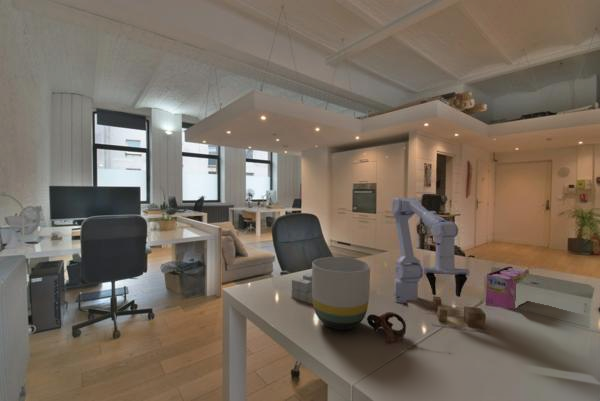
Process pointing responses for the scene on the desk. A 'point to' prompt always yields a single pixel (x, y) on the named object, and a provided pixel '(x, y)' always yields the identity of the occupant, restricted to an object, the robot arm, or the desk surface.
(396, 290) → the robot arm
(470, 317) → the walnut block
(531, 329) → the desk surface
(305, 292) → the puzzle cube
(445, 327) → the tray board
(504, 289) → the gum box
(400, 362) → the desk surface
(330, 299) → the planter
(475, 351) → the desk surface
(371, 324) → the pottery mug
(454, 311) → the back strip
